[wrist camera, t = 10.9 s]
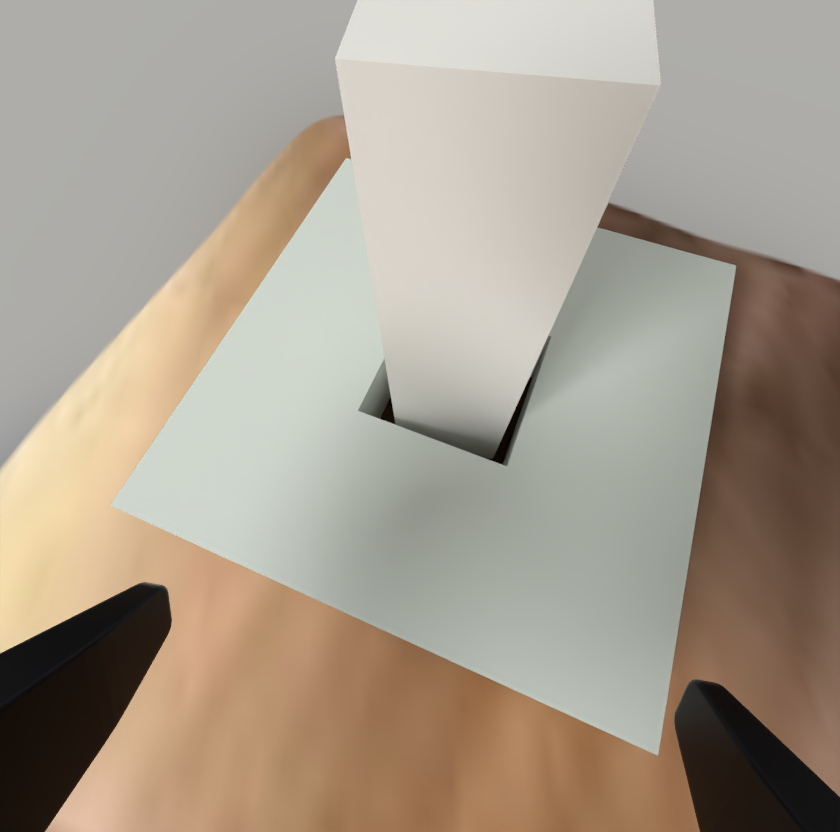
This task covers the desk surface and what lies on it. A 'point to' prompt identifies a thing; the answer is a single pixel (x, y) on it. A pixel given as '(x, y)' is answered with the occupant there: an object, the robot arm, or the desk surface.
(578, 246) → the plug
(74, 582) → the desk surface
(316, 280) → the socket
